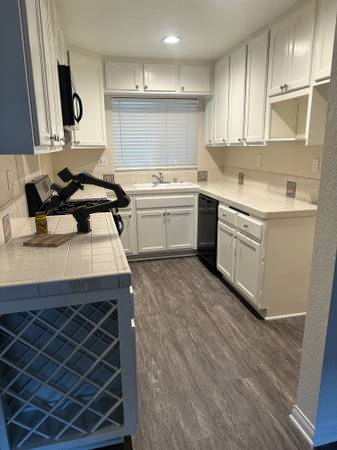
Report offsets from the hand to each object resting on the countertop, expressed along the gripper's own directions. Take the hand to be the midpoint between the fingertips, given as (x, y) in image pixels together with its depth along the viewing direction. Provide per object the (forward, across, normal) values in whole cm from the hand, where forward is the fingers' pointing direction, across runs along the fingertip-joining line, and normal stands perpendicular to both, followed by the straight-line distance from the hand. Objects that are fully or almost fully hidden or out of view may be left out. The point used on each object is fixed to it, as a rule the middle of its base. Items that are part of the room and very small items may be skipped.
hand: (49, 208), depth 169 cm
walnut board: (+6, +17, +13) cm, 22 cm away
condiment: (+14, +1, +7) cm, 16 cm away
